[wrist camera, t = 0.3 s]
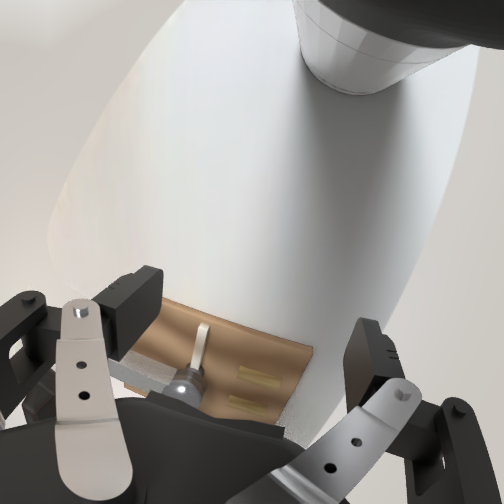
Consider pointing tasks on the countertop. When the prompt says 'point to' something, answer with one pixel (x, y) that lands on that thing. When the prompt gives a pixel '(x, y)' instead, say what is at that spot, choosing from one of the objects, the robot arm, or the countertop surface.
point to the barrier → (41, 399)
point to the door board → (226, 362)
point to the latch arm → (159, 378)
